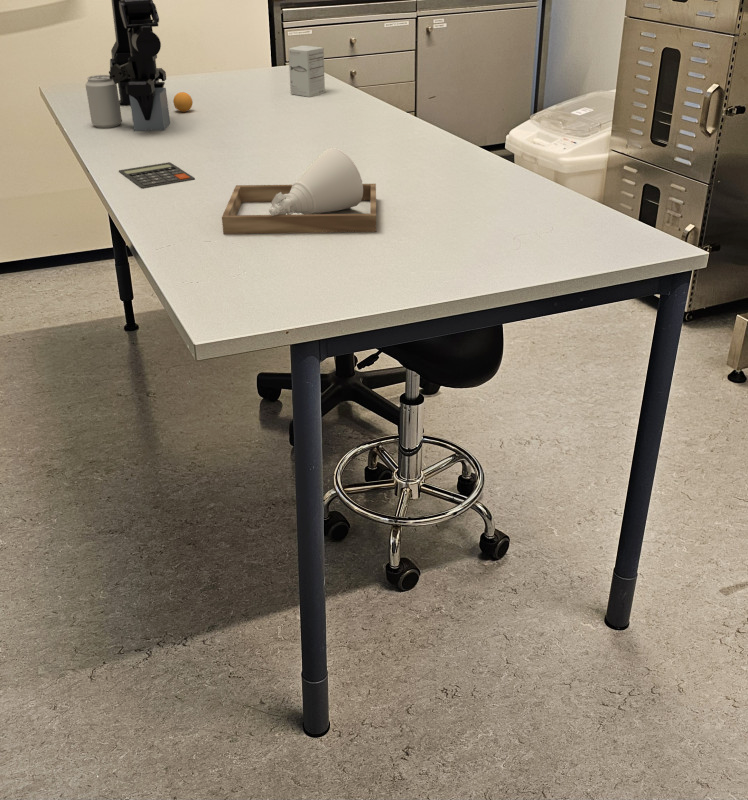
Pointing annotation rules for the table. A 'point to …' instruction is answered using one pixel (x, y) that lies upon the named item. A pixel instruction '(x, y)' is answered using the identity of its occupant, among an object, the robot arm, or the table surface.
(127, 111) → the table surface
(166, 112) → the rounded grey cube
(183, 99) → the ball
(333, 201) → the rocket engine
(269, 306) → the table surface
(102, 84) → the can
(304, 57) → the supplement box
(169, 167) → the calculator
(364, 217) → the wooden tray
